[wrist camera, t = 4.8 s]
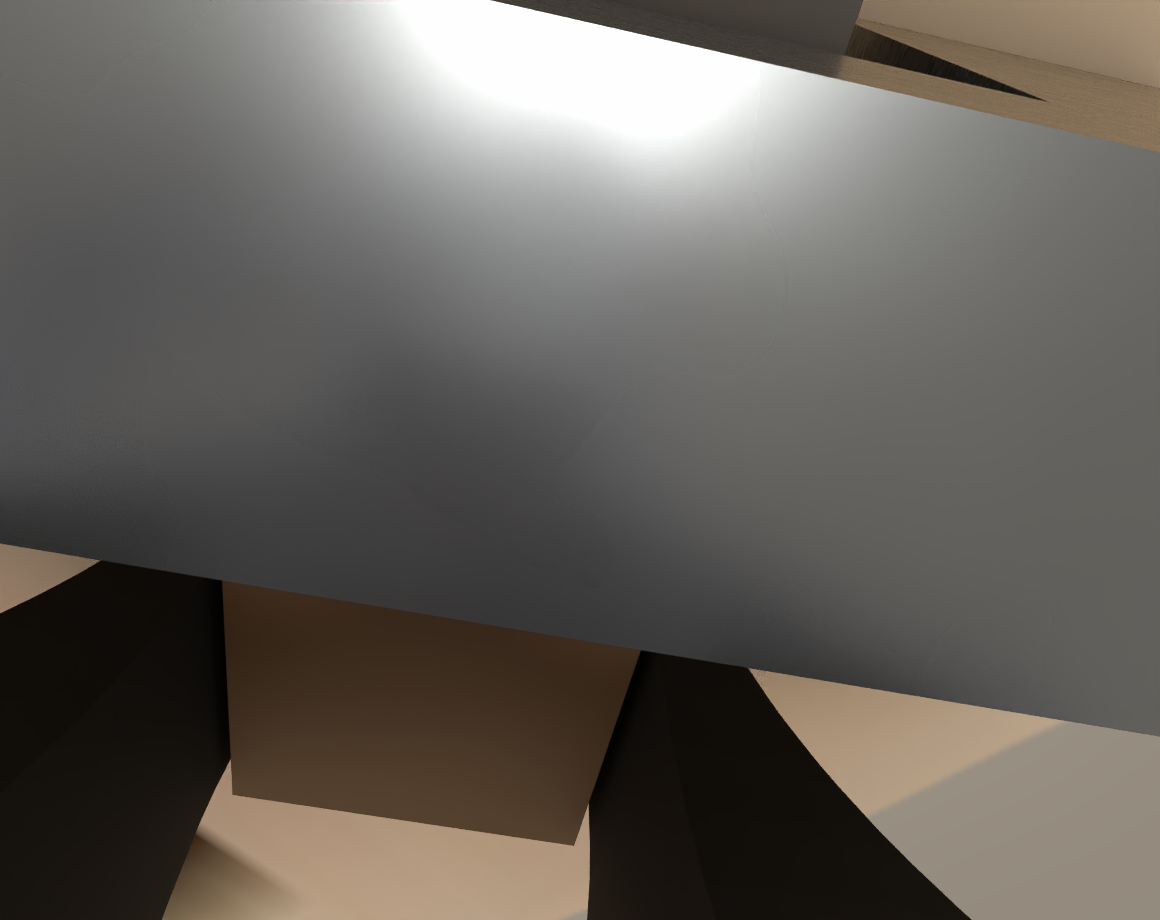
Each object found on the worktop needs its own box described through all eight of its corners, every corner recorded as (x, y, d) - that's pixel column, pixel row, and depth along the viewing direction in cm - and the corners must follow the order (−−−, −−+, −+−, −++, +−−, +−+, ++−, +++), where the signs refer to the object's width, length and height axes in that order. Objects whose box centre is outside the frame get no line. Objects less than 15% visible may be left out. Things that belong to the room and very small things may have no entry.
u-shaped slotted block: (1030, 332, 11) (1503, 792, 5) (-54, 110, 10) (-1011, 375, 4) (1163, 88, 9) (2080, 361, 3) (-121, -211, 8) (-1902, -545, 2)
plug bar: (584, 593, 13) (574, 845, 10) (339, 550, 13) (232, 794, 9) (825, -284, 8) (1028, -487, 4) (389, -402, 7) (154, -746, 4)
